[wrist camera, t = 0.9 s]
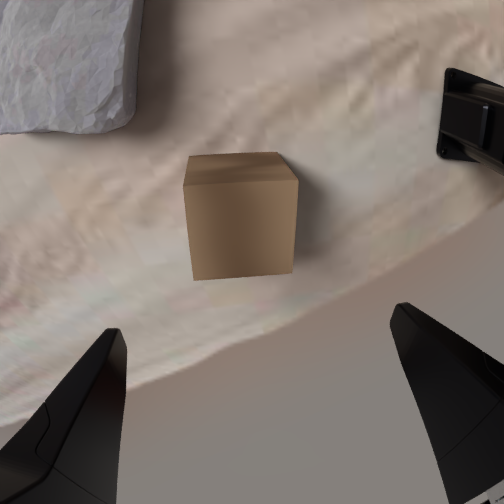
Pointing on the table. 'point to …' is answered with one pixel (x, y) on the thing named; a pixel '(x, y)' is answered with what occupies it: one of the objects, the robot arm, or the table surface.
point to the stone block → (68, 65)
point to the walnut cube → (240, 215)
